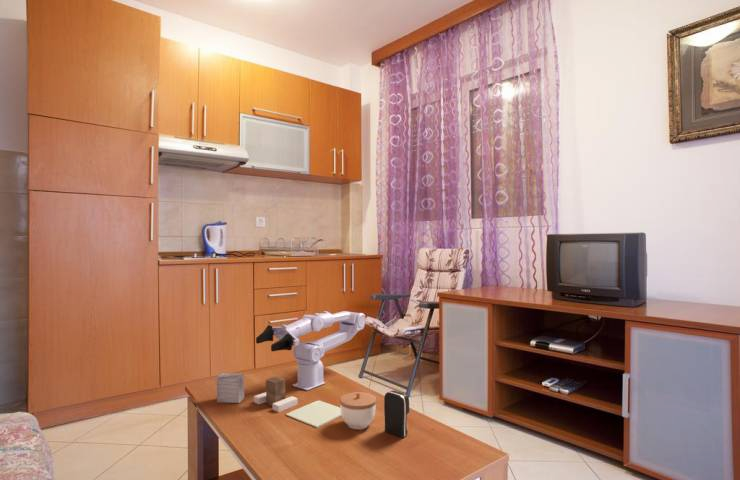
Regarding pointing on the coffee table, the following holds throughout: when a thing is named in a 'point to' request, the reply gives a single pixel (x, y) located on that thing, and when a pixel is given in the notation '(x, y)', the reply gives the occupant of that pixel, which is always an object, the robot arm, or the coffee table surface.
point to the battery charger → (396, 413)
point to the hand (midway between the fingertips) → (264, 344)
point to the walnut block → (275, 390)
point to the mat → (316, 413)
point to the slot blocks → (278, 405)
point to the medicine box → (230, 388)
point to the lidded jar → (358, 409)
